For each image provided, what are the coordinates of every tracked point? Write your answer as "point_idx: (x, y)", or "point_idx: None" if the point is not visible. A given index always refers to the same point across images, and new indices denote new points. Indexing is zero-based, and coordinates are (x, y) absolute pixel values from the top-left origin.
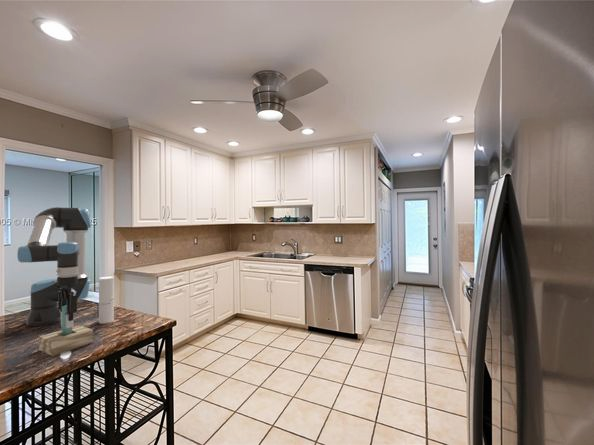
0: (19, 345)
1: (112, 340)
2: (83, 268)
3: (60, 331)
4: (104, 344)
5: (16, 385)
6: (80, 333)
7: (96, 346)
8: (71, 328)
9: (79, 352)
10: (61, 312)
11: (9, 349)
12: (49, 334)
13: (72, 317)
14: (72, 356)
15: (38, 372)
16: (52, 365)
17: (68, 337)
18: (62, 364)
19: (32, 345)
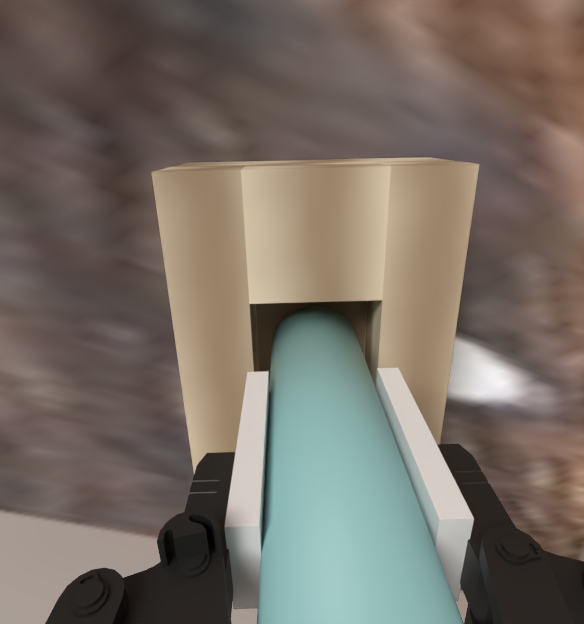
0: (21, 464)
1: (559, 12)
2: None
3: (210, 376)
4: (567, 120)
5: None
6: (453, 297)
7: (536, 184)
8: (366, 365)
9: (513, 310)
10: (257, 607)
11: (57, 507)
12: (215, 451)
13: (484, 488)
14: (529, 360)
15: (544, 515)
16: (533, 460)
17: (445, 395)
18: (577, 431)
19: (88, 425)
